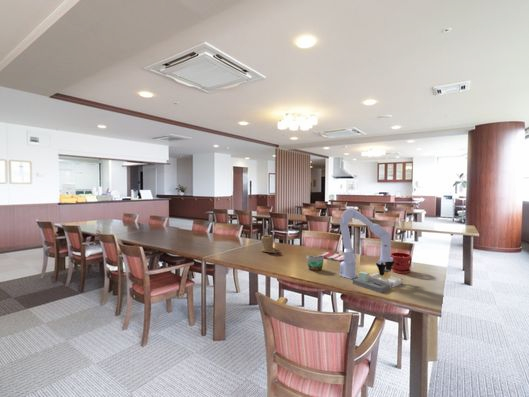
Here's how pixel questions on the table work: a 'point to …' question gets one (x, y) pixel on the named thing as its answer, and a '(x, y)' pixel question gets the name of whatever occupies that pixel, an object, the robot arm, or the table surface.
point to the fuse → (363, 276)
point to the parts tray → (391, 282)
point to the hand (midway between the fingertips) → (385, 273)
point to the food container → (315, 263)
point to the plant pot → (401, 262)
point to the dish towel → (333, 256)
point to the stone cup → (268, 244)
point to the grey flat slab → (372, 285)
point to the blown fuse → (385, 275)
